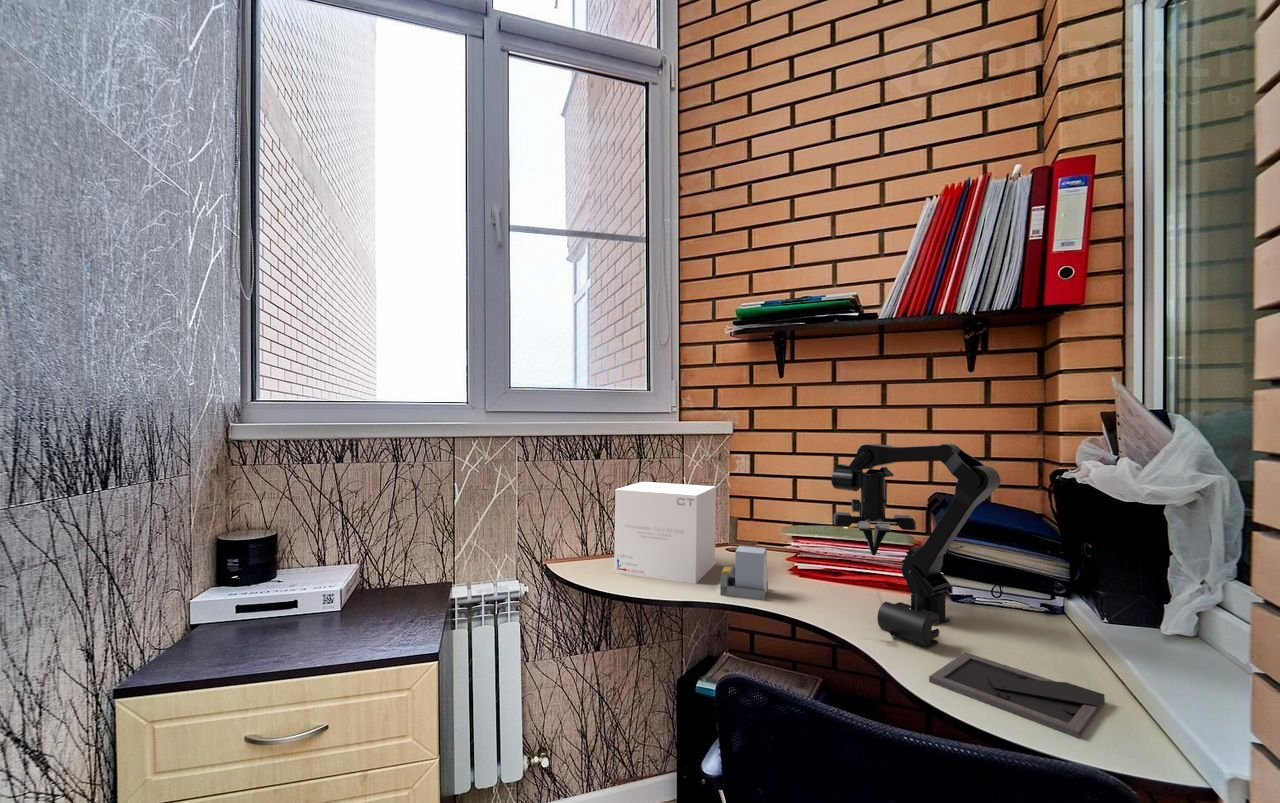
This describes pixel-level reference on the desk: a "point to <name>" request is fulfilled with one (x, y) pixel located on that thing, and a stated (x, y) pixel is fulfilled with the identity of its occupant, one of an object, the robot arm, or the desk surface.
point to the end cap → (909, 623)
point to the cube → (665, 531)
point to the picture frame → (1021, 693)
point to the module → (751, 567)
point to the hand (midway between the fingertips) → (873, 555)
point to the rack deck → (731, 590)
